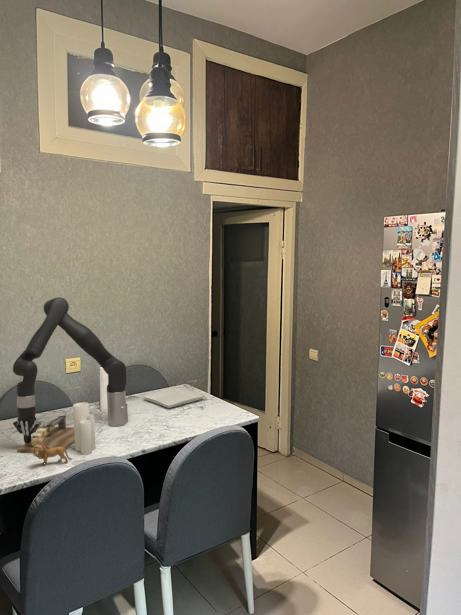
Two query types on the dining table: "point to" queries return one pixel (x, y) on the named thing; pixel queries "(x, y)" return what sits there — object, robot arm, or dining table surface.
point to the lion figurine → (49, 453)
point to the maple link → (40, 435)
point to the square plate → (174, 397)
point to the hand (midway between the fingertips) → (27, 442)
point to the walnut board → (54, 436)
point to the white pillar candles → (84, 428)
